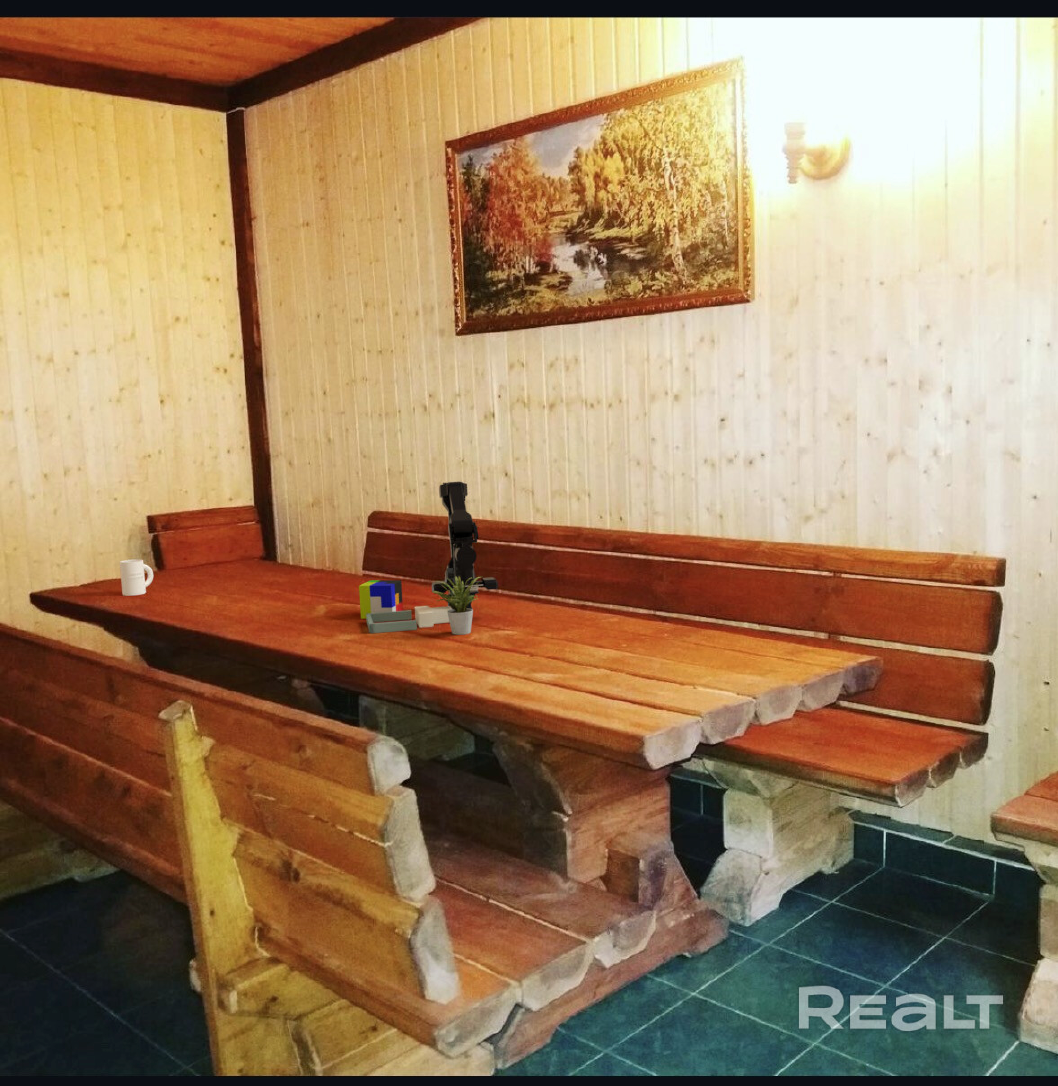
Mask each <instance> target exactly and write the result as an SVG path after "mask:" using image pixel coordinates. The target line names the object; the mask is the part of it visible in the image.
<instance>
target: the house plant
mask: <svg viewBox="0 0 1058 1086" xmlns="http://www.w3.org/2000/svg"><path fill="white" fill-rule="evenodd" d="M472 578H473V577H472ZM480 578H484V577H483V576H478V577H475V579H474V580H473V581H472V582H471V583H470V585H469V586H468V588H467V589H466V590H465V592H464V588H465V586H464V583H463V581H462V586H461V579H460V576H459V579H458V578H457V577H455V580H456V586H455V585H454V584H453V582H452V581H450V580H449V579H448V578H447V579H448V580H449V581H450V582H451V583H452V585H453V587H454V589H452V588H451V587H450V586H449V585H448V584H447V583H444V582H442V583H444V584H445V586H446V585H447V586H448V587H449V588H450V590H451V591H452V592H453V593H454V595H455V596H453V594H452V593H450V592H451V591H450V590H448V591H447V592H448V593H447V594H449V593H450V594H451V595H452V596H451V597H450V596H449V595H447V594H446V593H441V592H437V591H432V590H431V593H433V594H434V593H437V596H439V597H440V599H438V600H437V602H439V601H445V602H446V603H447V604H448V603H449V604H450V603H451V604H450V605H451V606H452V607H453V606H454V607H453V609H451V610H448V611H447V612H448V617H449V622H448V623H449V625H450V630H451V634H452V635H458V636H460V635H461V636H462V635H468V634H470V633H471V632H472V624H473V623H472V622H473V614H474V609H473V608H472V609H469V608H467V606H468V604H469V603H470V602H472V603H473V601H477V600H479V597H478V595H476V597H475V596H473V595H470V596H469V595H468V593H469V590H470V588H471V586H472V585H473V583H474V582H475V581H478V579H480ZM469 579H471V578H469ZM469 579H468V580H469ZM468 580H467V581H468ZM437 581H438V582H441V581H442V580H437ZM467 581H466V583H467ZM466 583H465V585H466ZM439 585H440V584H439ZM442 585H443V584H442ZM442 585H441V586H442ZM447 586H446V587H447ZM443 587H444V586H443ZM448 587H447V588H448ZM474 587H475V586H474ZM474 587H473V588H474ZM444 588H445V587H444ZM449 588H448V589H449ZM445 589H446V588H445ZM446 590H447V589H446ZM471 591H472V590H471ZM471 591H470V592H471ZM461 594H462V598H461ZM469 594H470V593H469ZM467 596H468V597H467ZM452 597H453V598H454V599H453V598H452ZM472 597H474V598H472ZM466 598H467V599H466Z"/></svg>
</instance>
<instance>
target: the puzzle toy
mask: <svg viewBox="0 0 1058 1086" xmlns="http://www.w3.org/2000/svg"><path fill="white" fill-rule="evenodd" d="M358 592H359V607H360V611H359V612H360V619H366V614H368V613H381V612H394V611H404V607H403V606H404V604H403V588H402V580H401V579H392V580H391V579H389V580H387V579H383V580H382V579H381V580H379V579H377V580H374V579H372V580H369V581H366V582H364V583H362V584H360V585H358Z"/></svg>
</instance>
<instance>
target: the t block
mask: <svg viewBox="0 0 1058 1086" xmlns="http://www.w3.org/2000/svg"><path fill="white" fill-rule="evenodd" d="M451 609H452V608H451V607H450V606H448V605H446V606H436V607H430V606H429V605H420V606H414V614H415V615H414V616H415V620H416V621H417V626H418V628H422V629H423V628H432V627H434V624H436V625H437V624H445V623H447V624H448V623H450V622H449V617H448V612H447V611H448V610H451Z"/></svg>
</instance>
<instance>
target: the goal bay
mask: <svg viewBox="0 0 1058 1086" xmlns="http://www.w3.org/2000/svg"><path fill="white" fill-rule="evenodd" d="M412 615H413V614H412V610H411V609H407V610H403V611H394V612H381V613H368V614H366V620H365V621H366V625H367V628H368V632H369V634H378V633H393V632H401V631H405V632H406V631H413V630H414V631H415V630H418V624H417V621H416V619H413V618H412V617H413V616H412ZM412 619H413V620H412Z"/></svg>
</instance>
